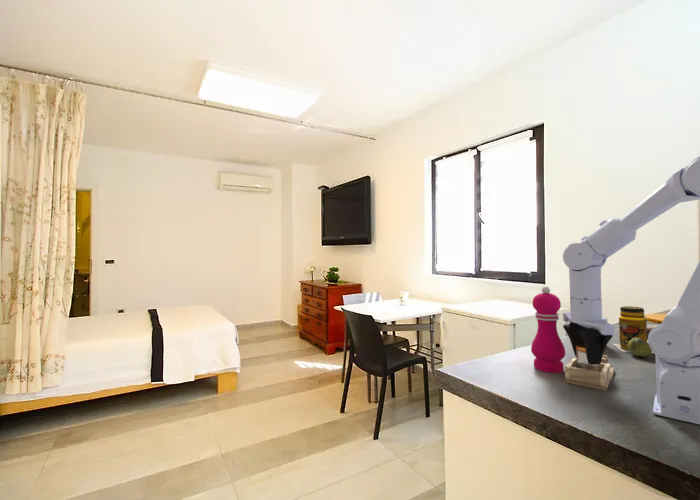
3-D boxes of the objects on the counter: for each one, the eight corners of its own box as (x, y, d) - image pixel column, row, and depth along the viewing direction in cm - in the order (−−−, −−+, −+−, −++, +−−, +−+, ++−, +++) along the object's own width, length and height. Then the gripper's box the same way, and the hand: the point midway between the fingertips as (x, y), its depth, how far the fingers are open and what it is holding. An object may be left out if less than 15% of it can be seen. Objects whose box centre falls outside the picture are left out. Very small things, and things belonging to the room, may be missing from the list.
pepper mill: (531, 371, 82) (529, 287, 82) (531, 362, 88) (529, 285, 89) (567, 375, 79) (564, 288, 79) (564, 366, 85) (561, 285, 85)
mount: (605, 391, 70) (604, 371, 70) (565, 383, 74) (564, 364, 74) (614, 372, 80) (613, 354, 80) (579, 365, 85) (578, 349, 85)
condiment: (623, 352, 95) (622, 309, 95) (612, 344, 103) (610, 304, 103) (656, 354, 93) (654, 309, 93) (641, 346, 101) (640, 305, 101)
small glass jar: (604, 375, 73) (604, 349, 73) (585, 376, 73) (584, 350, 73) (589, 368, 77) (589, 343, 77) (571, 368, 77) (571, 344, 77)
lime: (626, 353, 94) (626, 335, 94) (649, 355, 91) (649, 337, 91) (629, 358, 90) (629, 339, 90) (654, 360, 88) (653, 340, 88)
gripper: (629, 302, 68) (631, 371, 67) (584, 293, 82) (585, 350, 82) (592, 303, 68) (594, 371, 68) (553, 294, 82) (555, 350, 82)
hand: (587, 360), depth 75 cm, fingers closed on small glass jar, 4 cm apart
